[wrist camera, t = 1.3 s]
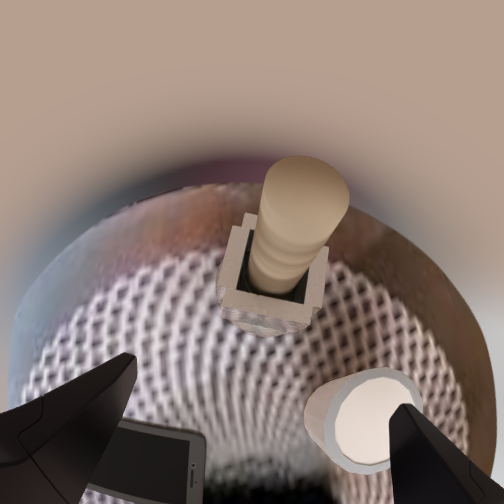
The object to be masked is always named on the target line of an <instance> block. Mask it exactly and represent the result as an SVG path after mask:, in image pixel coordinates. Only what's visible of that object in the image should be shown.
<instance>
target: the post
mask: <svg viewBox="0 0 504 504" xmlns="http://www.w3.org/2000/svg"><path fill="white" fill-rule="evenodd" d="M349 200H350V197H349V191H348V187H347V185H346V183H345V181H344V179H343V178H342V176H341V175H340V174H339V173H338V172H337V171H336V170H335V169H334V168H333V167H331V166H330V165H328V164H327V163H325V162H323V161H321V160H318V159H315V158H312V157H308V156H291V157H287V158H284V159H282V160H279V161H278V162H276V163H275V164H274V165H273V166H272V167H271V168H270V169H269V170H268V172H267V174H266V177H265V181H264V186H263V191H262V196H261V201H260V206H259V211H258V217H257V222H256V227H255V232H254V237H253V242H252V247H251V252H250V257H249V262H248V267H247V270H246V274H245V286H246V290H247V292H248V293H252V294H257V295H261V296H266V297H270V298H275V299H280V300H285V299H287V298H288V297H289V295H290V294H291V293H292V291H293V290H294V287H295V286H296V285H297V283H298V282H299V280H300V279H301V278H302V276H303V275H304V273H305V272H306V271H307V269H308V268H309V266H310V265H311V263H312V262H313V260H314V259H315V258H316V256H317V255H318V253H319V252H320V250H321V249H322V247H323V246H324V244H325V243H326V242H327V240H328V239H329V237H330V236H331V234H332V233H333V231H334V230H335V228H336V227H337V225H338V224H339V222H340V221H341V219H342V218H343V216H344V215H345V213H346V211H347V209H348V206H349Z"/></svg>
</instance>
